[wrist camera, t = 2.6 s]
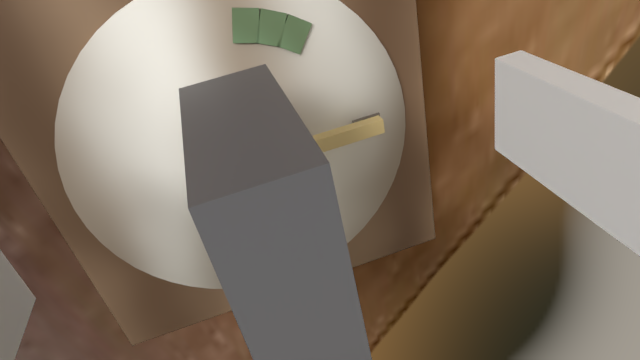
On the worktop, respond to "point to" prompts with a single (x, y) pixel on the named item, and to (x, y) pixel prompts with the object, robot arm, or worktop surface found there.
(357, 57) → the tuner board
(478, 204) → the worktop surface
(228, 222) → the peg knob
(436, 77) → the worktop surface
